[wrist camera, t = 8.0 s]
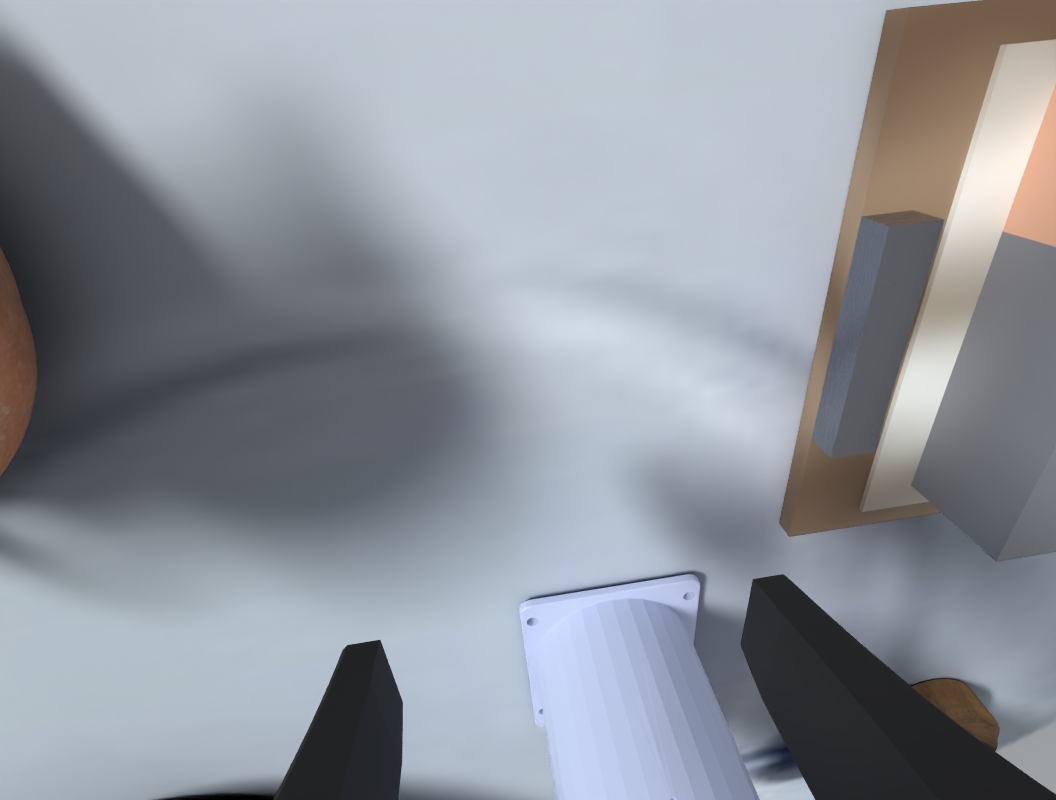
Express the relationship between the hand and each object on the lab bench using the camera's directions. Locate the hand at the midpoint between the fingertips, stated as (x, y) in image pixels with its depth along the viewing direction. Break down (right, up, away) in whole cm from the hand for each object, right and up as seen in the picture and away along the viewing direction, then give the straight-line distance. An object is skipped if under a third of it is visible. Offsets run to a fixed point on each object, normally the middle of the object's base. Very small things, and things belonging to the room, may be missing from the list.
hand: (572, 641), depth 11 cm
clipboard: (+15, +8, +9) cm, 19 cm away
